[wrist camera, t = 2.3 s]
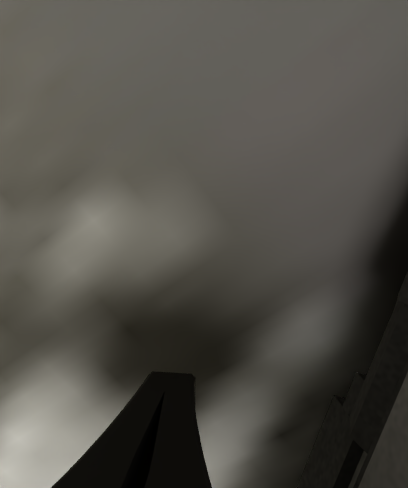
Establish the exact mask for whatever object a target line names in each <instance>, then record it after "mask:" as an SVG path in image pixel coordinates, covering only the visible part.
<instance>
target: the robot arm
mask: <svg viewBox="0 0 408 488" xmlns="http://www.w3.org/2000/svg"><path fill="white" fill-rule="evenodd" d="M51 488H212V486H211V483H210V479H209V475H208V472H207V468H206V463H205V459H204V455H203V451H202V446H201V442H200V436H199V431H198V425H197V419H196V412H195V377H194V376H193V375H192V374H186V373H170V372H151V373H150V374H149V375H148V377H147V378H146V379H145V381H144V382H143V384H142V385H141V386H140V388H139V389H138V390H137V392H136V393H135V394H134V396H133V397H132V398H131V400H130V401H129V402H128V403H127V405H126V406H125V407H124V409H123V410H122V411H121V412H120V413H119V415H118V416H117V417H116V418H115V419H114V421H113V422H112V423H111V424H110V426H109V427H108V428H107V429H106V430H105V431H104V433H103V434H102V435H101V436H100V437H99V438H98V439H97V440H96V441H95V443H94V444H93V445H92V446H91V447H90V448H89V449H88V450H87V451H86V452H85V454H84V455H83V456H82V457H81V458H80V459H79V460H78V461H77V462H76V463H75V464H74V465H73V466H72V467H71V468H70V469H69V470H68V471H67V472H66V473H65V474H64V476H63V477H62V478H61V479H60V480H58V481H57V482H56V483H55V484H54V485H53V486H52V487H51Z"/></svg>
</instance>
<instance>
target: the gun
mask: <svg viewBox="0 0 408 488" xmlns="http://www.w3.org/2000/svg"><path fill="white" fill-rule="evenodd" d="M397 296H398V298H397V303H396V305H395V307H394V310H393V312H392V315H391V317H390V320H389V322H388V324H387V327H386V329H385V332H384V334H383V337H382V339H381V341H380V344H379V346H378V349H377V351H376V354H375V356H374V358H373V361H372V363H371V366H370V368H369V371H368V373H367V375H364V374H360V373H357V372H356V374H355V377H354V379H353V382H352V384H351V386H350V389H349V391H348V394H347V396H346V399H345V398H342V397H339V396H335V395H334V397H333V399H332V402H331V404H330V407H329V409H328V412H327V414H326V417H325V419H324V422H323V424H322V427H321V429H320V432H319V434H318V437H317V439H316V442H315V444H314V447H313V449H312V452H311V454H310V457H309V459H308V462H307V464H306V467H305V469H304V471H303V474H302V476H301V479H300V481H299V484H298V486H297V488H408V271H407V274H406V276H405V278H404V281H403V283H402V286H401V288H400V291H399V293H398V295H397Z"/></svg>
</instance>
